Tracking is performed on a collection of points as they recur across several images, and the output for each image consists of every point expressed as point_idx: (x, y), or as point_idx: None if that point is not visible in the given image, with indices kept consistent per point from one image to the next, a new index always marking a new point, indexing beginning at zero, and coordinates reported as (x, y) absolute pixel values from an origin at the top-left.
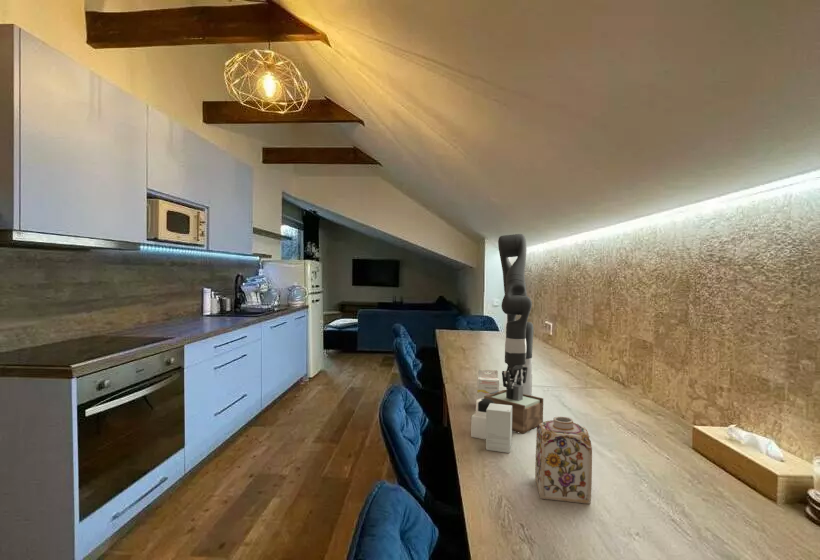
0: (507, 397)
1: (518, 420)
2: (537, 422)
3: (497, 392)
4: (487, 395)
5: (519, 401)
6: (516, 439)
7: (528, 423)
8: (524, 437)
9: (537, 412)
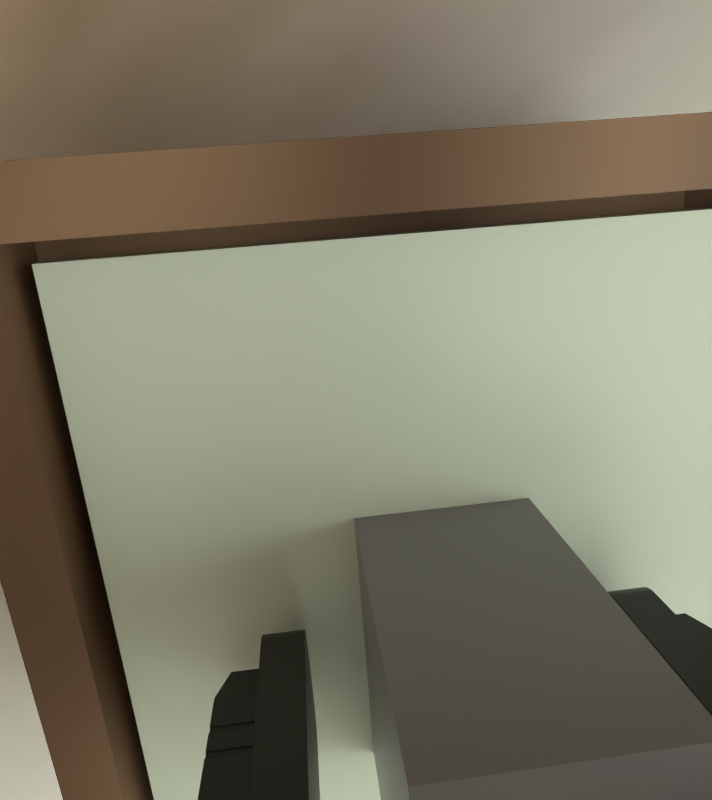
0: (264, 643)
1: None
2: None
3: (517, 158)
4: (28, 185)
5: (369, 774)
6: (30, 722)
7: None
8: None
9: None
